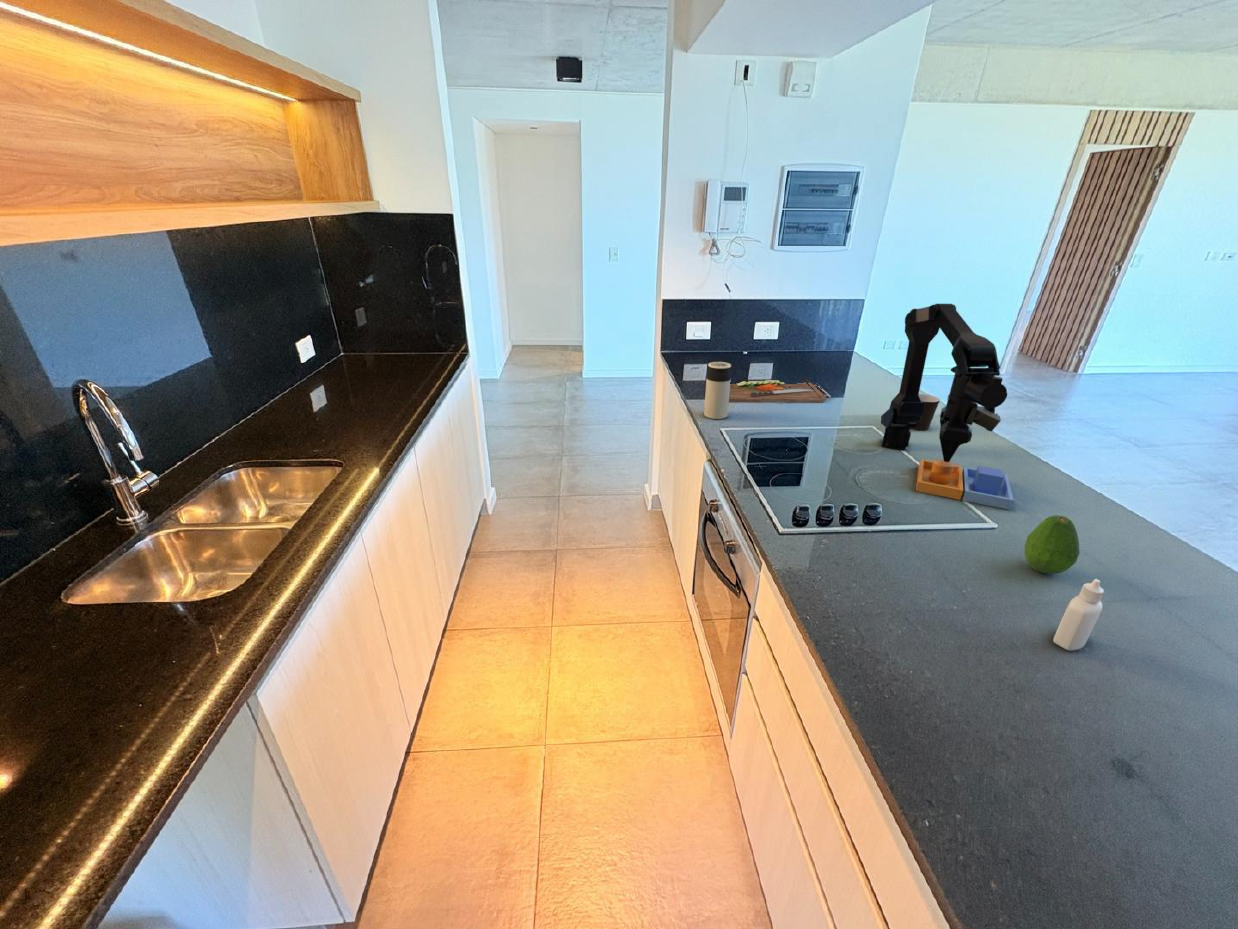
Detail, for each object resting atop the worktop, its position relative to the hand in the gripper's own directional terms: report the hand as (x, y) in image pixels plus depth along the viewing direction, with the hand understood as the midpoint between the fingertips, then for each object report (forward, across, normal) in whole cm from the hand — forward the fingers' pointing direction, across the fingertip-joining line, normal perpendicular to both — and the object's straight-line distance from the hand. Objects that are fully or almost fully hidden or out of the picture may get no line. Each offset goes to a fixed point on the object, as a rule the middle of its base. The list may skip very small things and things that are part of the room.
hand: (946, 455), depth 132 cm
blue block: (+7, 0, -10) cm, 12 cm away
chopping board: (+8, +58, +60) cm, 84 cm away
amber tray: (+8, 0, 0) cm, 8 cm away
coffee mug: (+8, +44, +7) cm, 45 cm away
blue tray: (+8, 0, -10) cm, 13 cm away
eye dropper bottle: (+8, -54, -19) cm, 58 cm away
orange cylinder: (+7, 0, 0) cm, 7 cm away
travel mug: (+8, +21, +68) cm, 71 cm away
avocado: (+8, -33, -18) cm, 38 cm away
